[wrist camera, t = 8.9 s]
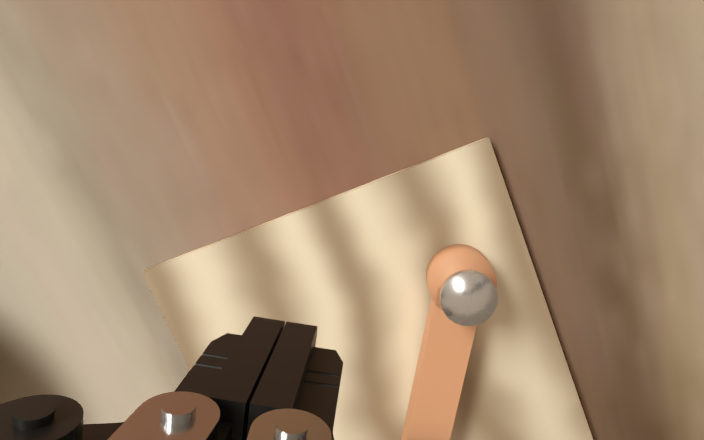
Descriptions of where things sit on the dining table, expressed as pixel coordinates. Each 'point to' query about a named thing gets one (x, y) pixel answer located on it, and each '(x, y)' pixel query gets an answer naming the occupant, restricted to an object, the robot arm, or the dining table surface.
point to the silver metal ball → (468, 297)
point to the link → (442, 351)
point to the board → (389, 299)
